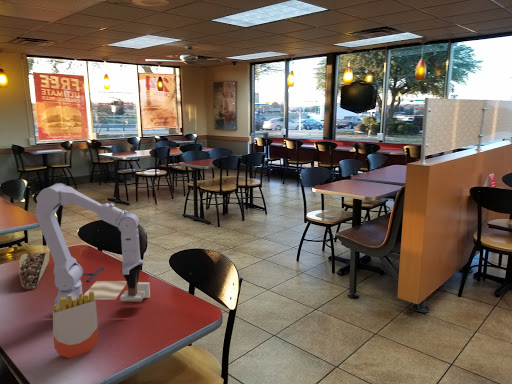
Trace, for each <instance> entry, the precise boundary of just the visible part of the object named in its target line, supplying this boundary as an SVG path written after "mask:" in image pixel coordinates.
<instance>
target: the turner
mask: <svg viewBox="0 0 512 384" xmlns="http://www.w3.org/2000/svg"><path fill="white" fill-rule="evenodd" d="M144 296H145V291H137V277H136V286H135V288H128V287H127V290H124V291H123V293H122V294H121V295H120V297H119V298H120V302H131V303H132V302H136V303H138V302H139V303H141V302H142V301H143V299H144V298H143V297H144Z"/></svg>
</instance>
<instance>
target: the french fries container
mask: <svg viewBox="0 0 512 384" xmlns="http://www.w3.org/2000/svg"><path fill="white" fill-rule="evenodd" d="M82 294H83V292H82V293H79V297H77V298H76V300H77V303H76V300H75V299H73V300H72V296H68V301H67V302H68V304H67V302H66V298H65V297H62V298H60V308H59V306H57V305H55V304H54V305H53V307H54V308H53V309H54V310H52V330H53V331H52V332H53V333H52V336H53V344H54V349H55V350H56V353H57V354H58V355H59V356H61V357H65V358H68V359H72V358H76V357H78V356H80V355H83V354H86V353H89V352H91V350H93V348H94V347H95V345H97V342H98V341H99V340H100V338H99V337H100V336H99V335H100V334H99V327H98V323H99V322H98V313H97V301H96V300H95V299H94V292H93V291H90V292H89V299H88V295H84V294H83V299H82ZM60 310H61V311H60ZM75 356H76V357H75Z"/></svg>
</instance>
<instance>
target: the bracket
mask: <svg viewBox="0 0 512 384" xmlns="http://www.w3.org/2000/svg"><path fill="white" fill-rule="evenodd" d="M104 269H105V267H103V266H100V267H99V268H98V269H95V272H90V273H89V272H88V273H84V272H83V275H82V276H90V277H89V278H88V279H87V280H86V282H91V281H92V280H94V278H95V277H96V276H98V274H99V273H100V272H101V271H104Z"/></svg>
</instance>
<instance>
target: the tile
mask: <svg viewBox="0 0 512 384" xmlns="http://www.w3.org/2000/svg"><path fill="white" fill-rule="evenodd" d="M150 285H151V284H150V282H145V281H144V282H141V281H138V284H137V291H145V296H144V297H143V299H149V298H150V297H151V286H150Z"/></svg>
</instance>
